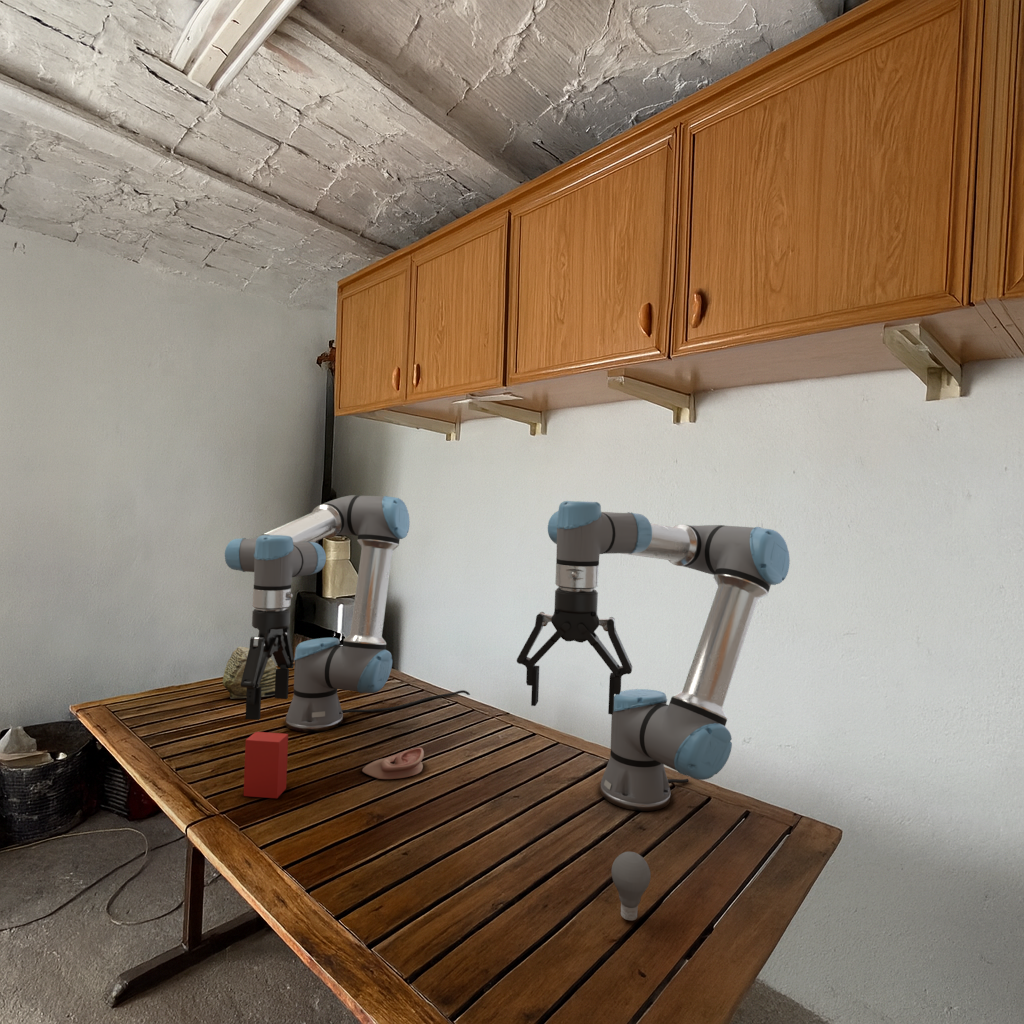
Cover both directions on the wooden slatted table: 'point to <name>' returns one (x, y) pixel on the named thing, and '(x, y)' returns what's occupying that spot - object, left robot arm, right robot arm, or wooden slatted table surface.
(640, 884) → the light bulb
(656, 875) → the wooden slatted table surface
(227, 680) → the fossil
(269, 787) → the brick
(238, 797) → the wooden slatted table surface
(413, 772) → the anatomical model
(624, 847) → the wooden slatted table surface
